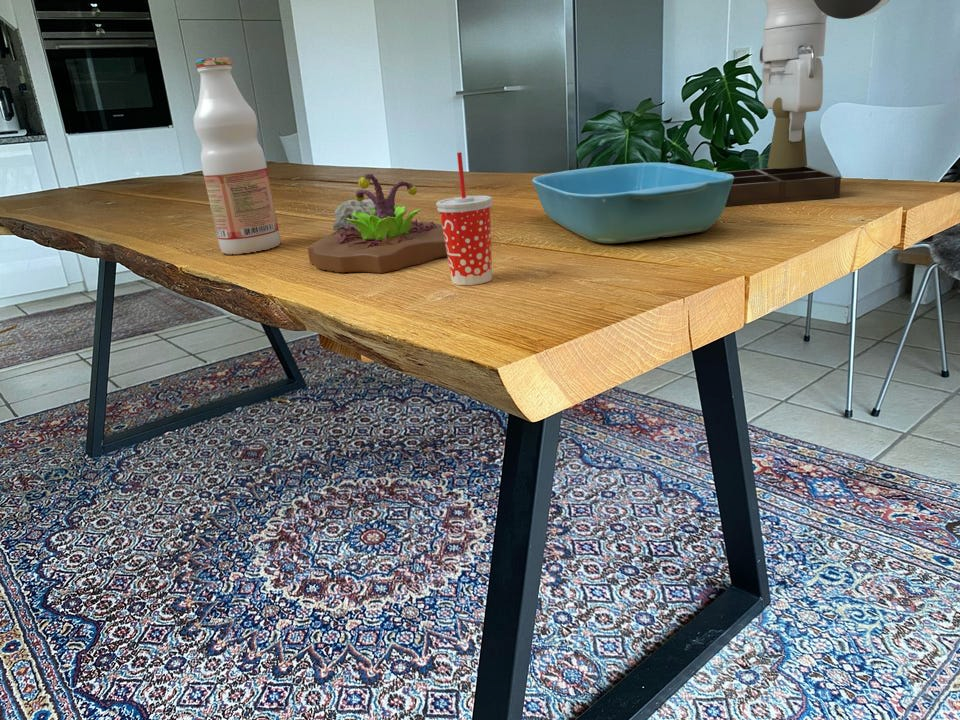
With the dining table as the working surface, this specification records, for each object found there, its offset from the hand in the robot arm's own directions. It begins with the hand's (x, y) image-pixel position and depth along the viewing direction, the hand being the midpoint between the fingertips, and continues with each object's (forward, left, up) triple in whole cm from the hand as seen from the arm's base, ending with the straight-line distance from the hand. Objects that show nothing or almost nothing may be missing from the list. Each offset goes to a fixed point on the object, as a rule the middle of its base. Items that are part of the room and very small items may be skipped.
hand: (788, 139), depth 119 cm
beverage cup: (+47, +48, -8) cm, 68 cm away
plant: (+61, +31, -8) cm, 69 cm away
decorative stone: (+71, +6, -8) cm, 72 cm away
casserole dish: (+28, +21, -8) cm, 36 cm away
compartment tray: (+4, +4, -8) cm, 10 cm away
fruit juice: (+86, +18, -8) cm, 88 cm away
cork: (0, 0, -4) cm, 4 cm away
